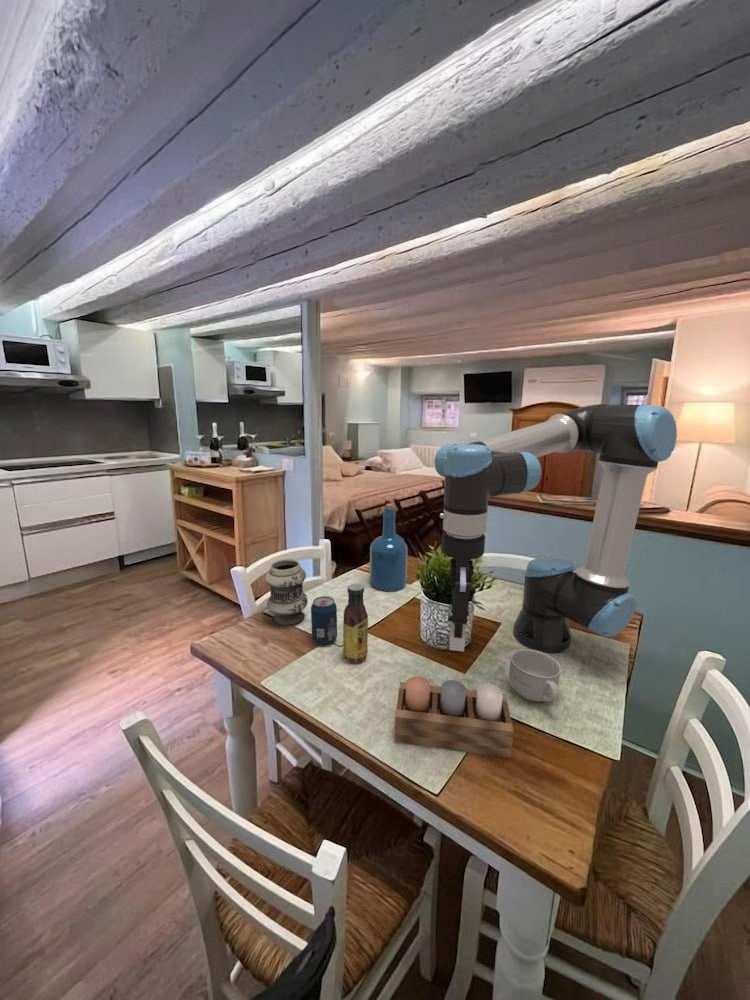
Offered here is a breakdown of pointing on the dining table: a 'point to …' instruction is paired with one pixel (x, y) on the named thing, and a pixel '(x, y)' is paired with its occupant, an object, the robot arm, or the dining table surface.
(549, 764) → the dining table surface
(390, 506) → the wine bottle
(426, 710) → the peach egg
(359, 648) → the sauce bottle
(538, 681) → the teacup
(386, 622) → the dining table surface
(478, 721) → the wooden compartment box
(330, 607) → the soda can
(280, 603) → the apothecary jar
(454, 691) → the grey rounded cylinder
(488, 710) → the white egg
